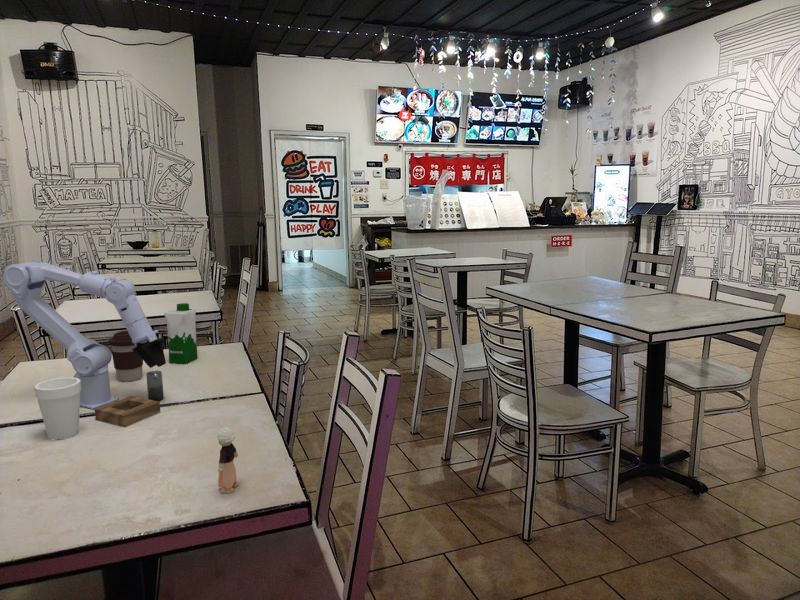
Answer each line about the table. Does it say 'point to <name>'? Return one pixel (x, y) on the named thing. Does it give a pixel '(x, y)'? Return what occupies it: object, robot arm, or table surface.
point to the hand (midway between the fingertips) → (158, 365)
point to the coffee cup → (125, 357)
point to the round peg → (155, 386)
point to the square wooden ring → (127, 411)
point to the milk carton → (181, 334)
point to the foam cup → (60, 406)
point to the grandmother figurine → (227, 461)
